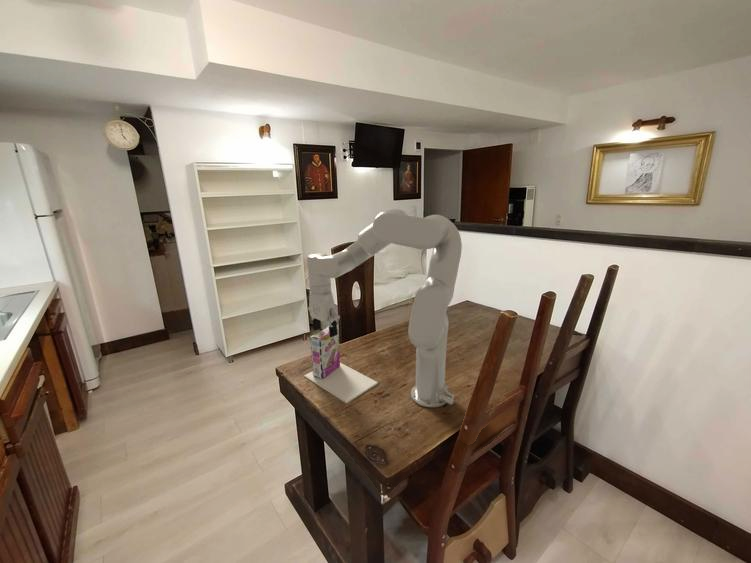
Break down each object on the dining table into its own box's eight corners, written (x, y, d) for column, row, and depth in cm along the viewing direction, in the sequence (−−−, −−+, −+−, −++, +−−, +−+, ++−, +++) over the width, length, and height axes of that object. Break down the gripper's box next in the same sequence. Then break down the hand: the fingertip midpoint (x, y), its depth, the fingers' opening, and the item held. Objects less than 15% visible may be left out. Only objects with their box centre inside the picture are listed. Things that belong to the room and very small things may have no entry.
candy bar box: (323, 380, 119) (319, 339, 114) (312, 376, 122) (309, 336, 117) (341, 365, 128) (338, 327, 124) (331, 362, 131) (328, 325, 126)
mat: (377, 383, 117) (377, 382, 117) (346, 403, 107) (346, 402, 107) (335, 361, 133) (334, 359, 133) (304, 376, 123) (304, 375, 122)
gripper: (298, 287, 119) (303, 330, 123) (327, 295, 107) (332, 342, 112) (314, 282, 124) (319, 323, 129) (344, 289, 112) (348, 335, 117)
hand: (325, 332), depth 120 cm, fingers open, 9 cm apart
